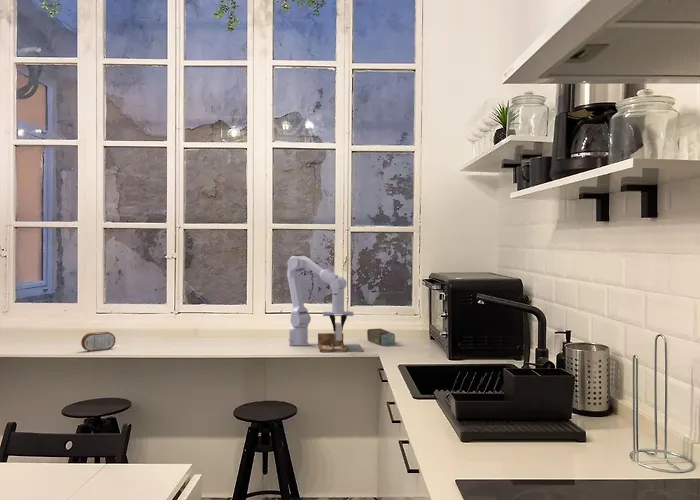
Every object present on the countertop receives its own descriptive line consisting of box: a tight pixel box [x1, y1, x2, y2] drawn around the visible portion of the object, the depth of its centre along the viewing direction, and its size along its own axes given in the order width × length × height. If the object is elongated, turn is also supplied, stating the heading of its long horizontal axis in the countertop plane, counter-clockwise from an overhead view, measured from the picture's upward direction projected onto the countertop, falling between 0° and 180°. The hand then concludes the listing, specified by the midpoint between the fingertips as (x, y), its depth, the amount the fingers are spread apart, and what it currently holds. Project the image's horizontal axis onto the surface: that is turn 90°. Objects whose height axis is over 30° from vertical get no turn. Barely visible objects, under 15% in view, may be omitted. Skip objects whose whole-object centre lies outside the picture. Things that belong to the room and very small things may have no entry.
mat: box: [344, 343, 365, 353], centre depth 287 cm, size 7×18×1 cm, turn 6°
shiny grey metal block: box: [333, 322, 343, 340], centre depth 286 cm, size 3×11×7 cm, turn 6°
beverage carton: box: [366, 327, 396, 347], centre depth 304 cm, size 8×19×7 cm, turn 20°
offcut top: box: [322, 345, 332, 349], centre depth 286 cm, size 4×13×1 cm, turn 7°
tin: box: [80, 331, 116, 352], centre depth 278 cm, size 15×3×8 cm, turn 132°
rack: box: [317, 332, 348, 353], centre depth 286 cm, size 12×19×6 cm, turn 6°
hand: (337, 331), depth 286 cm, fingers closed on shiny grey metal block, 3 cm apart
